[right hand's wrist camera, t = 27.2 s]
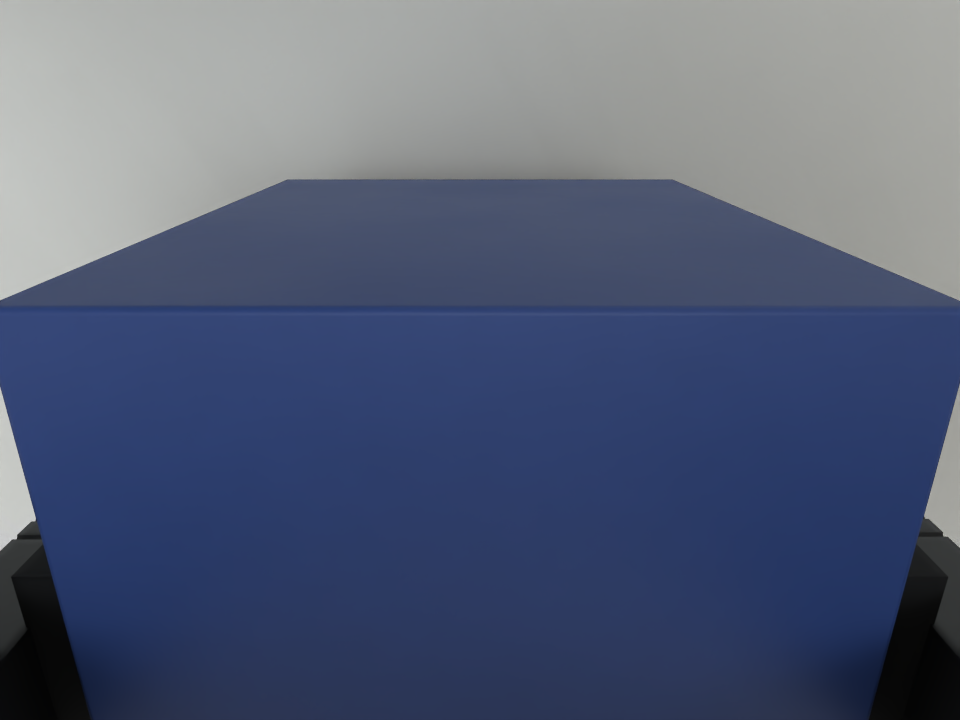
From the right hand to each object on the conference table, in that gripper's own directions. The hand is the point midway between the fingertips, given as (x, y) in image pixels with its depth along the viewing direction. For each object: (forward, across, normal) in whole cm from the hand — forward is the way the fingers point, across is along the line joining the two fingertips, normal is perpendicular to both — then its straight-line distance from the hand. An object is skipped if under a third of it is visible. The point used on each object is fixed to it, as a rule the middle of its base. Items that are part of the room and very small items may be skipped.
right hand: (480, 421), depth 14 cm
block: (+3, 0, 0) cm, 3 cm away
